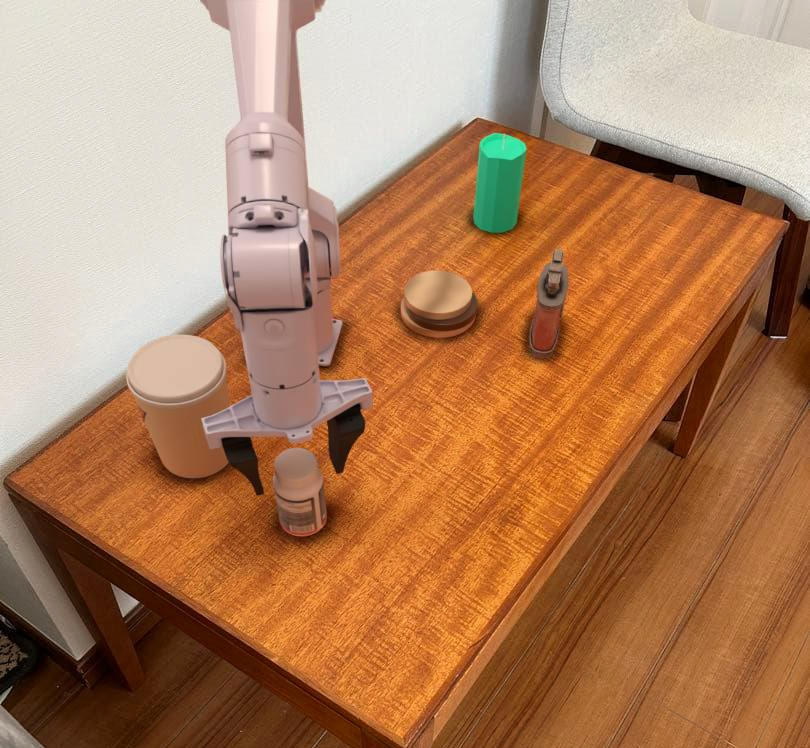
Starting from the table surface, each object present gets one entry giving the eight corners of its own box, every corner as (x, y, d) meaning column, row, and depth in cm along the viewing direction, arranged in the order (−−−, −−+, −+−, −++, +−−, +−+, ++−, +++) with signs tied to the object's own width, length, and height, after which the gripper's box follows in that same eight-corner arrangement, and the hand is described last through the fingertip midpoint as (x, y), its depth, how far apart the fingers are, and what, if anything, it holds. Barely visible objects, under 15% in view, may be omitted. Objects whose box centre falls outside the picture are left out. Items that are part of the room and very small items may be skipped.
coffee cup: (169, 414, 92) (144, 326, 83) (252, 425, 92) (236, 338, 82) (139, 478, 87) (109, 392, 77) (228, 490, 86) (208, 405, 77)
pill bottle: (302, 493, 86) (294, 435, 79) (336, 516, 84) (332, 460, 78) (269, 521, 84) (258, 464, 77) (303, 545, 82) (296, 490, 75)
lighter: (554, 360, 99) (569, 288, 91) (525, 355, 99) (537, 284, 91) (560, 316, 103) (575, 244, 95) (533, 312, 104) (545, 241, 96)
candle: (466, 211, 117) (473, 125, 107) (507, 204, 118) (517, 118, 108) (482, 236, 113) (490, 149, 104) (523, 228, 114) (535, 142, 105)
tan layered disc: (394, 333, 101) (395, 312, 99) (406, 286, 107) (407, 265, 104) (472, 342, 100) (474, 321, 98) (480, 294, 106) (482, 273, 103)
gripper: (205, 420, 64) (231, 529, 75) (384, 375, 67) (385, 486, 78) (185, 361, 68) (213, 473, 79) (355, 322, 71) (360, 434, 82)
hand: (297, 476), depth 79 cm, fingers open, 7 cm apart
